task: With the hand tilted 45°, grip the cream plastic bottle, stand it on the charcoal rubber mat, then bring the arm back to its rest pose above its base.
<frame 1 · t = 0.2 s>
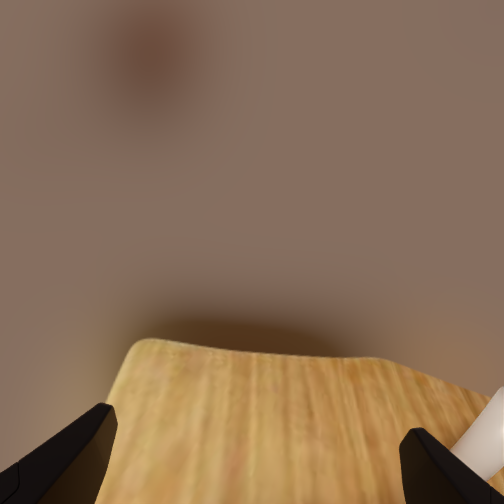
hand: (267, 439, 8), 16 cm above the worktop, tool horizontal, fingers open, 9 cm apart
cream bottle: (437, 492, 18), on the worktop
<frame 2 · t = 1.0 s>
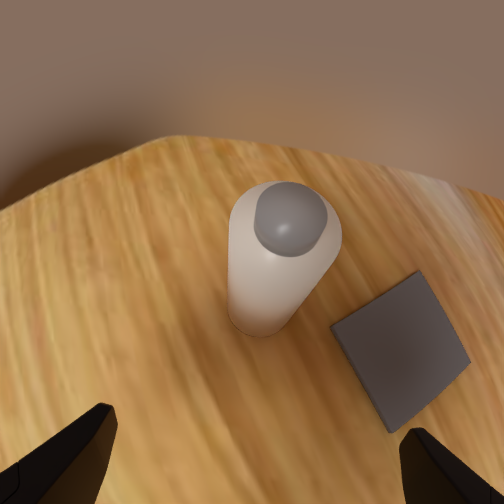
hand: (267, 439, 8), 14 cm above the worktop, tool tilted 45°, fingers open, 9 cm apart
cream bottle: (259, 305, 24), on the worktop
charcoal mat: (407, 348, 23), on the worktop
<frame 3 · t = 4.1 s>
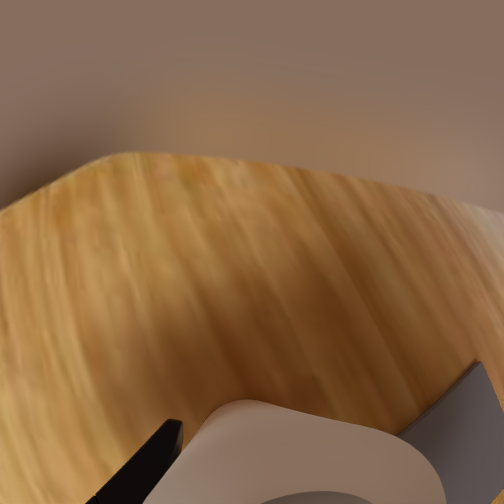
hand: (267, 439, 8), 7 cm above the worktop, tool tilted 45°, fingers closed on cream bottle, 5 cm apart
cream bottle: (247, 445, 13), on the worktop, touching gripper
charcoal mat: (452, 471, 13), on the worktop
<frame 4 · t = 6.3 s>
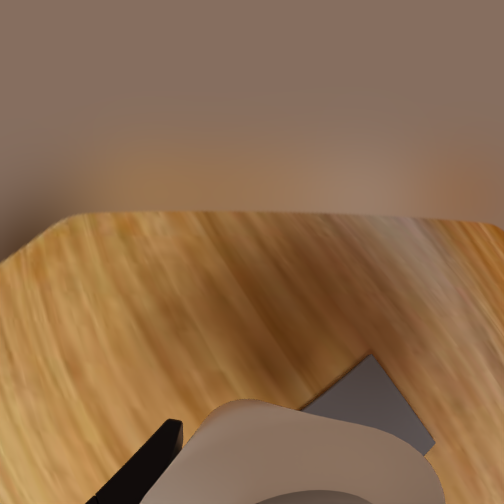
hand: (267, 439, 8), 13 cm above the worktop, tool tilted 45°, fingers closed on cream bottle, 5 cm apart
cream bottle: (247, 445, 13), point 7 cm above the worktop, touching gripper
charcoal mat: (356, 445, 19), on the worktop
when the fingers open (8 cm above the worktop, at t = 8.7 s): cream bottle stays where it is, resting on charcoal mat.
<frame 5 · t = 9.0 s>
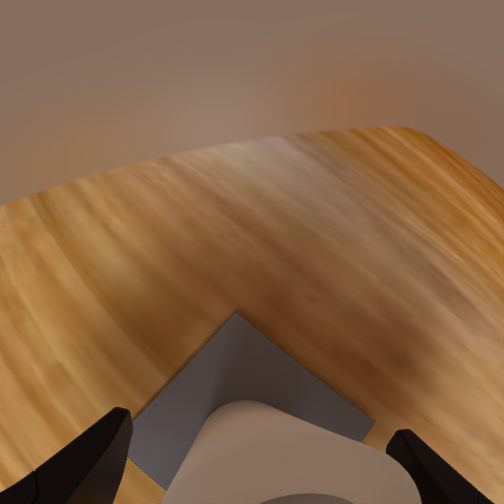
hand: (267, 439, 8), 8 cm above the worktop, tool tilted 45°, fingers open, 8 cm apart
cream bottle: (246, 444, 14), point 1 cm above the worktop, touching charcoal mat
charcoal mat: (246, 441, 15), on the worktop
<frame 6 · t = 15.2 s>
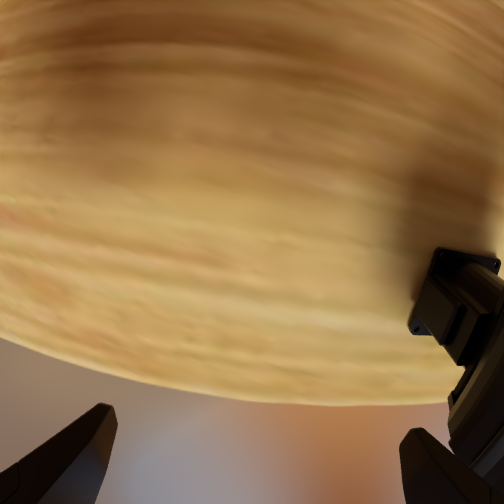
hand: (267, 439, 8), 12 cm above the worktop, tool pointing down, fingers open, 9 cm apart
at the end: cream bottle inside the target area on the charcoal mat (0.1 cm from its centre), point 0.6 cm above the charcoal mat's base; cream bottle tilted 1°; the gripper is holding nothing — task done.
